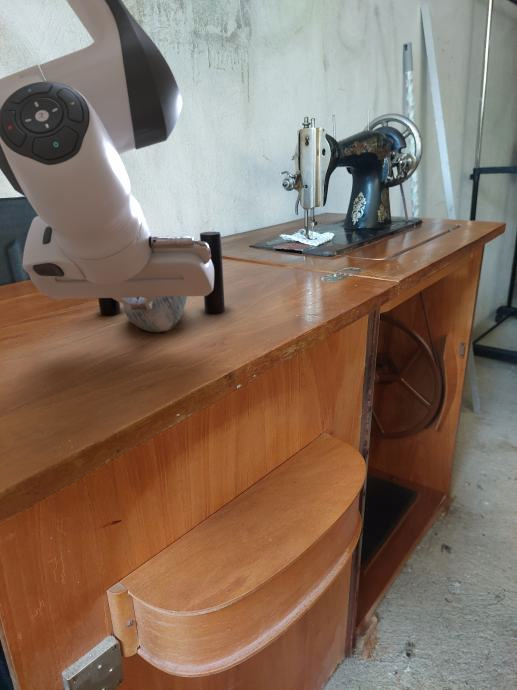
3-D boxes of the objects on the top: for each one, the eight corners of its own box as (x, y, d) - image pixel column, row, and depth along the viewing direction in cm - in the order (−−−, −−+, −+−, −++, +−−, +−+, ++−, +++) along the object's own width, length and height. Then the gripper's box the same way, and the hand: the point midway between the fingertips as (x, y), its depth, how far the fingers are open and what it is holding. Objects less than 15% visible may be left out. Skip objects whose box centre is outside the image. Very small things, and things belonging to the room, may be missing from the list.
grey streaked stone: (143, 314, 82) (106, 265, 76) (195, 284, 81) (161, 233, 75) (151, 364, 71) (107, 312, 65) (210, 330, 71) (172, 275, 65)
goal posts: (98, 317, 78) (86, 237, 73) (104, 311, 80) (93, 234, 76) (223, 315, 77) (219, 234, 73) (225, 309, 80) (221, 231, 75)
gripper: (208, 213, 54) (223, 281, 67) (18, 218, 55) (68, 285, 68) (205, 263, 52) (221, 325, 64) (6, 268, 53) (60, 328, 65)
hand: (141, 304), depth 66 cm, fingers closed, pressing on grey streaked stone
